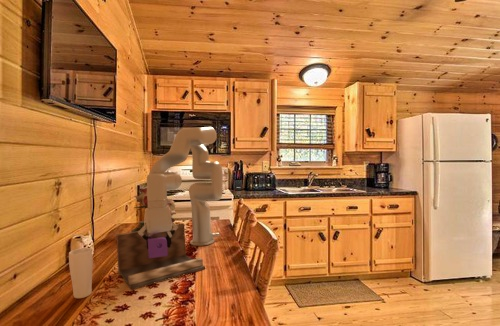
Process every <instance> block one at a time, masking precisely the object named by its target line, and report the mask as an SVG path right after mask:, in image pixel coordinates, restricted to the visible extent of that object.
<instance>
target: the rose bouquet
mask: <svg viewBox="0 0 500 326" xmlns="http://www.w3.org/2000/svg"><path fill="white" fill-rule="evenodd" d="M138 190H139V193H140V194H139V195H134V196H133V197H134V198H135V199H136V200H137V201H138V203H140V206H139V205H138V206H134V207H133V209H136V210H137V211H141V209H143V210H144V209H145V210H146V208H148V200H147V185H146V186H145V187H142V188H139V189H138ZM167 199H168V200H170V201H171V203H169V204H168V207H169V209H170V214H171V220H172V222H173V223H175V219H174V218H173V215H177V212H176V211H175V209H176V205H175V203H176V202H175V201H174V200H173V199H171V198H167ZM138 224H139V226H136V227H135V228H132V229H131V231H130V232H135V231H140V229H141V228H142V227H143V226H144V221H139V222H138Z"/></svg>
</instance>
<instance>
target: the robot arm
mask: <svg viewBox="0 0 500 326" xmlns="http://www.w3.org/2000/svg"><path fill="white" fill-rule="evenodd" d="M216 140H217V131H216V129H214V127H212V126H204V127H197V126H196V127H187V128H186V127H185V128H181V129H179V130H178V131H177V133H176V135H175V137H174V139H173V142H172V144H171V146H170V149H169V151H168V152H166V153H165V154H163V155H162V156H161V157H160V158H158V159H157V160H156V161H155V162H154V163H153V165H152V167H151V169H150V172H149V174H147V176H146V186H147V200H148V208H146V209H145V210H144V217H143V218H144V220H143V222H144V226H143V227H142V228H141V229H140V231H139V232H138V234H139V235H140V236H141V237H143V238H144V239H145V240H146V241H147V249H148V239H151V238H152V235H153V234H157V233H163V232H165V233H166V234H167V236H166V240H167V247H169V248H170V245H171V237H172V235H173V234H174V233H175V231H176V229H177V228H178V226H177V225H176V224H177V223H175V222H172V220H171V214H170V209H169V207H168V204H169V203H171V201H170V200H168V199H169V198H168V195H167V194H168V191H174V190H178V189H179V188H180V187H181V185H182V181H183V179H182V176H181V175H180V174H179V173H178V172H175V171H168V170H169V169H171V168H173V167H175V166H177V165H180V164H182V163H184V162H186V160H187V159H188V157H189V153H190V151H191V154H192V159H191V160H192V162H191V163H192V169H191V171H192V178H193V179H194V180H198V181H200V182H194V183H192V184H191V185H190V186H189V188H188V194H189V198H190V204H191V206H190V207H191V222H192V223H191V224H192V239H191V240H190V243H189V244H190V245H191V246H194V247H195V246H199V247H202V246H209V245H212V244H214V243H215V237H220V235H221V234H220V232H212V225H211V224H212V221H211V219H212V218H211V217H212V216H211V207H210V205H209V203H208V201H209V202H211V201H212V202H216V201H219V200H221V199H222V197H223V188H224V185H223V173H224V172H223V166H222V164H221V163H220V162H219V161H216V160H214V161H210V157H209V156H210V155H209V150H208V148H207V147H206V145H211V144H214V143H215V142H216ZM167 171H168V172H167ZM201 180H202V182H201ZM203 180H205V181H206V182H205V181H204V182H203ZM208 180H209V181H210V182H207V181H208ZM172 226H173V229H172ZM171 229H172V230H171ZM170 230H171V231H170ZM144 231H145V232H146V233H147V236H146V235H144V234H143V232H144Z"/></svg>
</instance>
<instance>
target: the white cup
mask: <svg viewBox="0 0 500 326" xmlns="http://www.w3.org/2000/svg"><path fill="white" fill-rule="evenodd" d="M93 261H94V260H93V251H92V248H91V247H82V248H77V249H72V250H71V251H69V252H68V265H69V266H68V267H69V274H70V279H71V284H72V285H71V286H72V294H73V298H75V299H84V298H87V297H89V296H90V295H91V294H92V292H93V287H92V285H93V284H92V283H93V281H92V280H93V265H94V264H93Z"/></svg>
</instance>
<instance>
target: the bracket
mask: <svg viewBox="0 0 500 326" xmlns="http://www.w3.org/2000/svg"><path fill="white" fill-rule="evenodd" d="M158 243H162V244H158ZM148 254H149V258H156V257H163V256H168V254H167V240H166V238H164V237H161V238H152V239H148Z"/></svg>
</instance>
